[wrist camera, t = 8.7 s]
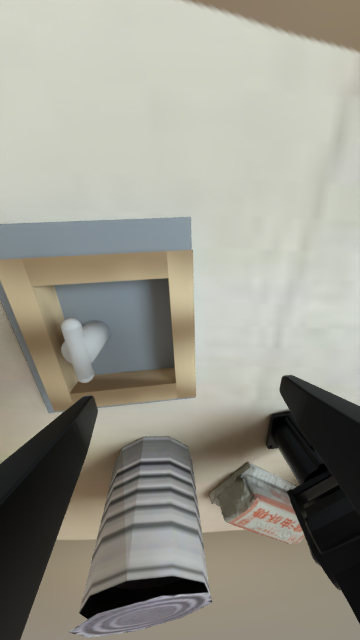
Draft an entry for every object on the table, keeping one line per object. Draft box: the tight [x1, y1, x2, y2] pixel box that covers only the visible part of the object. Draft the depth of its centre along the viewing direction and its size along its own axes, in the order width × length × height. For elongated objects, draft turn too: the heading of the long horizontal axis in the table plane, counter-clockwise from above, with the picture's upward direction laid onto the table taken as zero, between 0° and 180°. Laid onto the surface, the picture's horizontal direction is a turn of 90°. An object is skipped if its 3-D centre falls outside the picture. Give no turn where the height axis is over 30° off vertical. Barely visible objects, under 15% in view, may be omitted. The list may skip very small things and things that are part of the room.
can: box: [69, 436, 212, 638], centre depth 19 cm, size 11×11×12 cm
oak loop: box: [0, 250, 196, 412], centre depth 15 cm, size 13×13×2 cm
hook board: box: [0, 217, 195, 413], centre depth 14 cm, size 18×16×6 cm
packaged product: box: [209, 462, 305, 544], centre depth 29 cm, size 18×5×10 cm
